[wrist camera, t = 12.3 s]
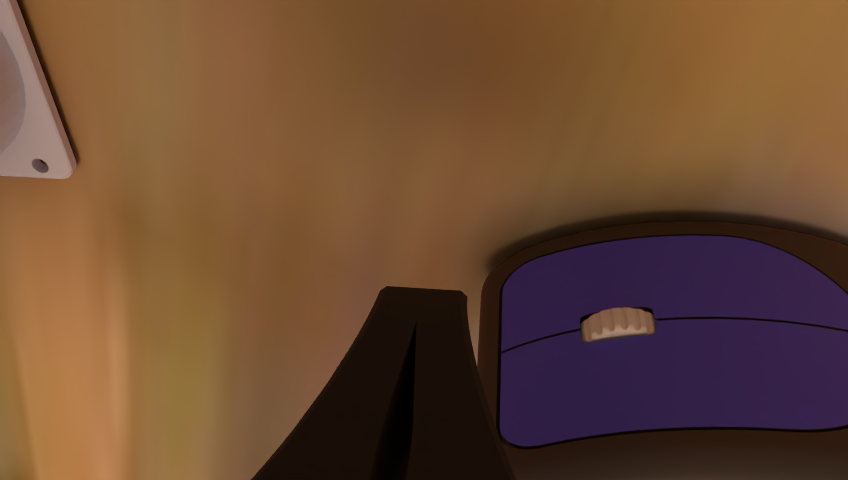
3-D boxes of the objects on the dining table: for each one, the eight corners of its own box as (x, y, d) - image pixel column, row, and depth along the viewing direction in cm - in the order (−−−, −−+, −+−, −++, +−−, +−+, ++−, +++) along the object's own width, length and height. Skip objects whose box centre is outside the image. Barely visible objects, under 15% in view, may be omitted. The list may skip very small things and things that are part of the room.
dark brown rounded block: (1035, 253, 22) (1295, 555, 15) (947, 354, 25) (1128, 648, 17) (502, 173, 22) (496, 433, 15) (478, 283, 25) (463, 546, 17)
